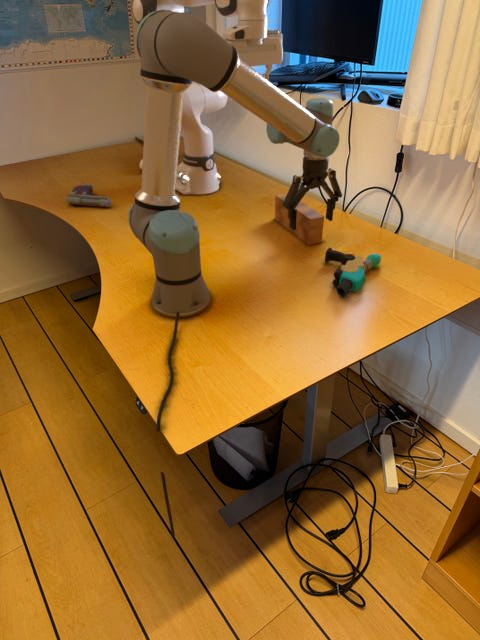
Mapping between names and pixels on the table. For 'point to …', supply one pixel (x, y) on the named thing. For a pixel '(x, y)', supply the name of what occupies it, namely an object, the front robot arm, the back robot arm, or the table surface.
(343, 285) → the toy gun
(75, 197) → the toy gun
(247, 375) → the table surface
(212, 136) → the back robot arm
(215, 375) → the table surface
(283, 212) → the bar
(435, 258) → the table surface
